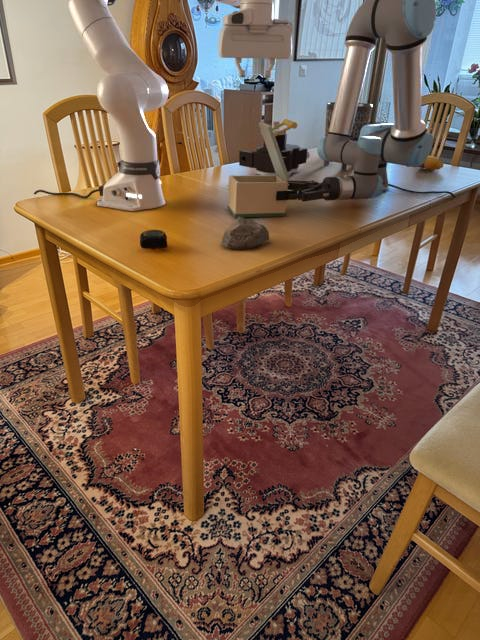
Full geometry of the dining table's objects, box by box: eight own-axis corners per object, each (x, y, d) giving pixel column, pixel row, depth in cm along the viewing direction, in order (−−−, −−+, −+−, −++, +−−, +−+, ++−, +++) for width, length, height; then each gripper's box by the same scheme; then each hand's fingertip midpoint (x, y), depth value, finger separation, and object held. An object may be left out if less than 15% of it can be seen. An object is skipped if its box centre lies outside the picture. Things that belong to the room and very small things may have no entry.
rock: (255, 233, 128) (256, 211, 124) (276, 242, 122) (278, 219, 119) (217, 244, 120) (217, 220, 117) (239, 254, 115) (239, 230, 111)
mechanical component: (240, 120, 182) (283, 115, 202) (239, 174, 192) (280, 164, 212) (283, 126, 170) (325, 120, 190) (280, 183, 180) (320, 171, 200)
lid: (267, 127, 129) (295, 113, 129) (257, 123, 138) (283, 110, 138) (286, 181, 138) (312, 168, 138) (276, 174, 147) (300, 161, 147)
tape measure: (140, 252, 115) (139, 238, 113) (141, 242, 120) (140, 229, 119) (167, 251, 116) (166, 237, 114) (167, 241, 121) (166, 228, 120)
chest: (235, 217, 140) (236, 183, 135) (227, 208, 148) (228, 175, 143) (284, 216, 144) (288, 182, 139) (274, 207, 152) (277, 175, 147)
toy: (417, 163, 202) (411, 156, 215) (419, 177, 205) (413, 169, 218) (444, 155, 199) (436, 148, 211) (446, 170, 202) (438, 162, 214)
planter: (313, 167, 208) (319, 103, 195) (331, 160, 222) (338, 101, 209) (353, 173, 199) (362, 107, 185) (369, 166, 213) (379, 104, 199)
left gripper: (289, 20, 124) (286, 77, 131) (216, 17, 120) (217, 76, 127) (297, 19, 119) (293, 78, 126) (221, 15, 115) (221, 77, 122)
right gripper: (324, 169, 156) (262, 171, 152) (353, 185, 137) (283, 188, 133) (321, 191, 160) (261, 193, 156) (349, 209, 141) (281, 213, 137)
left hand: (254, 77), depth 127 cm, fingers open, 6 cm apart
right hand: (271, 191), depth 144 cm, fingers closed on chest, 10 cm apart
